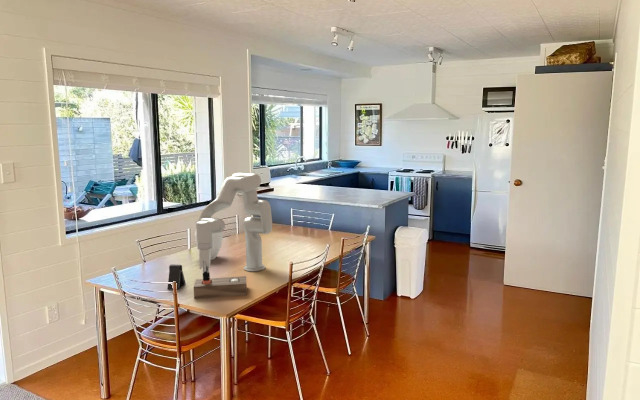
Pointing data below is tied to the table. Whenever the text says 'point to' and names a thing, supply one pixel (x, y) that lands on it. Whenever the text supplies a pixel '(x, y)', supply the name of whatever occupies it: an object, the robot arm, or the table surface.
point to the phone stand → (176, 276)
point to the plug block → (220, 287)
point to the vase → (214, 243)
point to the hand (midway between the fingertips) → (206, 280)
